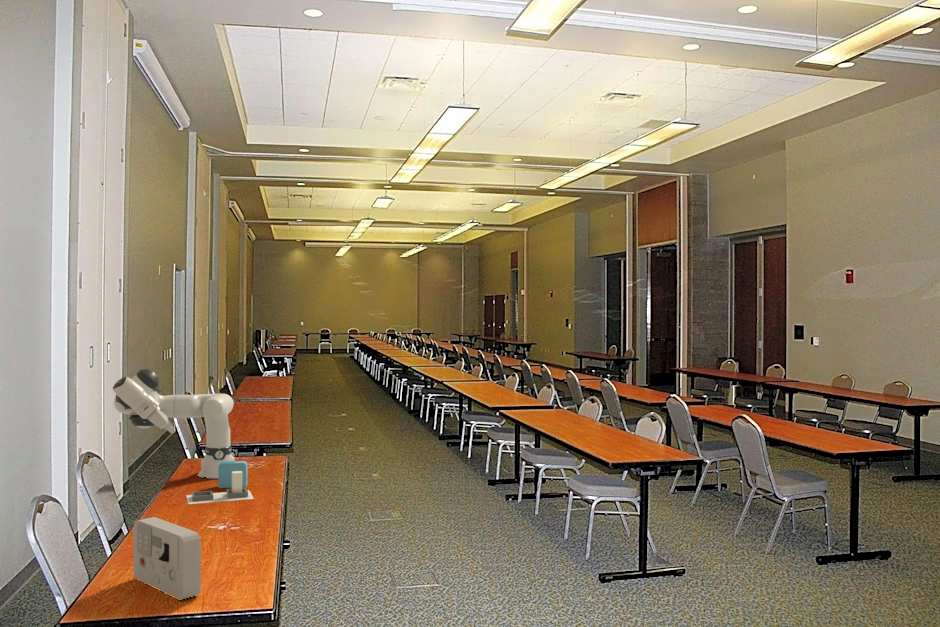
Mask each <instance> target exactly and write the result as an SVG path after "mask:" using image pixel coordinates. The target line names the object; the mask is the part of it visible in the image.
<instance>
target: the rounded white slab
mask: <svg viewBox="0 0 940 627" xmlns="http://www.w3.org/2000/svg"><path fill="white" fill-rule="evenodd" d="M132 544H133V547H132V548H133V549H132V550H133V557H132V558H133V562H132V564H133V565H132V567H133V568H132V570H133V576H134V579H135V578H136V579H139V580H141V581H143V582H145V583H147V584H150V585H152V586H154V587H156V588H158V589H160V590H161V591H164V592H166V593H168V594H170V595H172V596H174V597H176V598H178V599H180V600H182V601H184V600H183V599H185V600H187V599H186V598H188V597H191V596H195V595H198V594H200V593H201V588H202V584H201V583H202V582H201V580H202V577H201V576H202V573H201V572H202V569H201V568H202V567H201V566H202V565H201V564H202V542H201V537H200V534H199V533H198V532H197V531H194V530H192V529H189V528H187V527H184V526H181V525H178V524H175V523H172V522H169V521H167V520H164V519H162V518H158V517H155V516H152V517H148V518H147V517H146V518H142V519H138V520H135V521H134V523H133V543H132ZM136 579H135V580H136ZM198 596H199V595H198ZM195 597H196V596H195ZM188 599H189V598H188Z"/></svg>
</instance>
